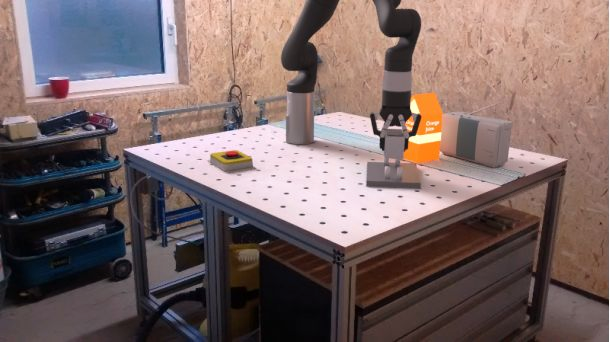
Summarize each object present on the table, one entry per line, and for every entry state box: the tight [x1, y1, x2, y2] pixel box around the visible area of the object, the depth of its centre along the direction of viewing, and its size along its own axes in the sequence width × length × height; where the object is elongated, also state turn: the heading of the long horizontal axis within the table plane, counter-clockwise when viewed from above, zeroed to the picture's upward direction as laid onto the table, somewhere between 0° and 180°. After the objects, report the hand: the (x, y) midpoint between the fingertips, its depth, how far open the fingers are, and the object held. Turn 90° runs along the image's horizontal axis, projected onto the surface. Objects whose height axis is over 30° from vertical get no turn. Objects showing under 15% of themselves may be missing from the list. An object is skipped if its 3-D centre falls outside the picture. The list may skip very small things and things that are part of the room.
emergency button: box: [206, 149, 256, 174], centre depth 163 cm, size 9×4×15 cm
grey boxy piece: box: [383, 128, 405, 160], centre depth 150 cm, size 5×9×6 cm, turn 173°
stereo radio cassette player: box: [440, 97, 514, 169], centre depth 167 cm, size 21×8×20 cm, turn 37°
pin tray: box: [365, 157, 422, 189], centre depth 152 cm, size 14×18×4 cm
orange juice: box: [403, 92, 444, 164], centre depth 168 cm, size 8×9×20 cm
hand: (393, 150), depth 151 cm, fingers closed on grey boxy piece, 5 cm apart
